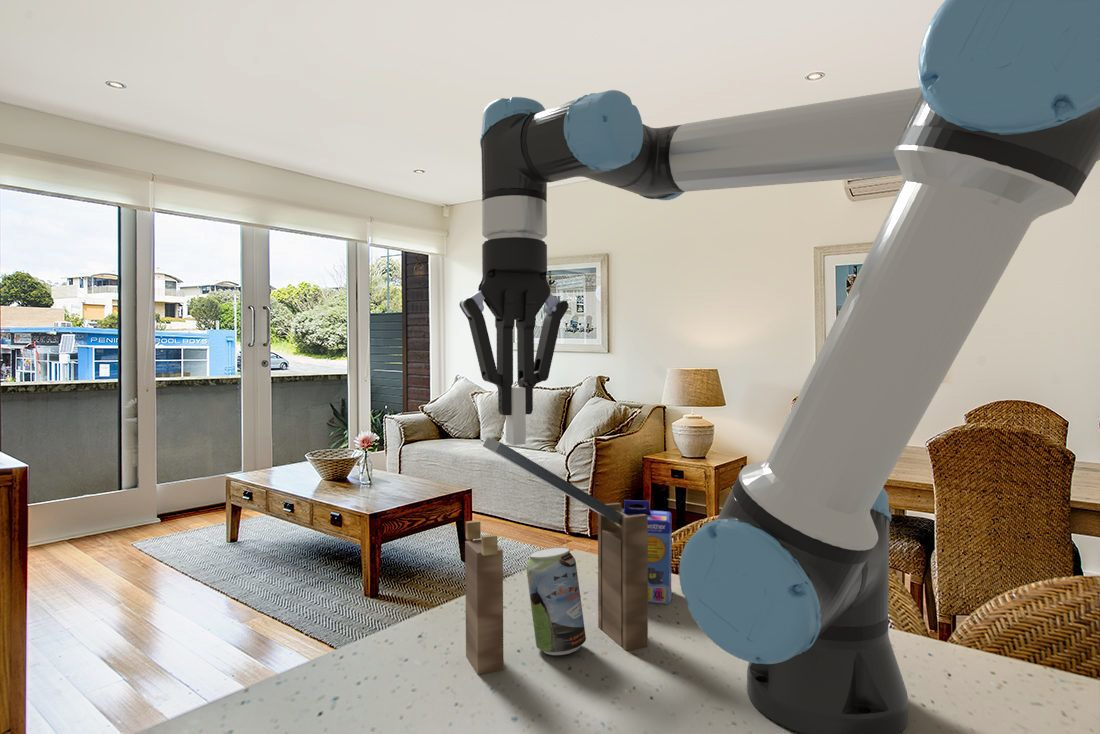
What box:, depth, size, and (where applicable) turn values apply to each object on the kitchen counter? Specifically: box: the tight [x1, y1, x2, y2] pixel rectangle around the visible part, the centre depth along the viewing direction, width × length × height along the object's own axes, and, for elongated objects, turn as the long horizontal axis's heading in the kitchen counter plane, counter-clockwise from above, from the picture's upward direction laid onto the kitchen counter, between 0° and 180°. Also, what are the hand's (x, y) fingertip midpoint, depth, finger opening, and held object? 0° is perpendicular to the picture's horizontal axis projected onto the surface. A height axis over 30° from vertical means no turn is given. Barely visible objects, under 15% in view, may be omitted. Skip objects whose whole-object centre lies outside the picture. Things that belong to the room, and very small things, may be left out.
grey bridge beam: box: [482, 436, 628, 529], centre depth 80 cm, size 21×5×2 cm
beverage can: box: [525, 546, 587, 656], centre depth 80 cm, size 6×7×12 cm
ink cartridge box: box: [621, 499, 673, 605], centre depth 97 cm, size 10×6×14 cm, turn 79°
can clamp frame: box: [464, 502, 649, 676], centre depth 80 cm, size 21×7×16 cm, turn 112°
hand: (515, 442), depth 77 cm, fingers closed
